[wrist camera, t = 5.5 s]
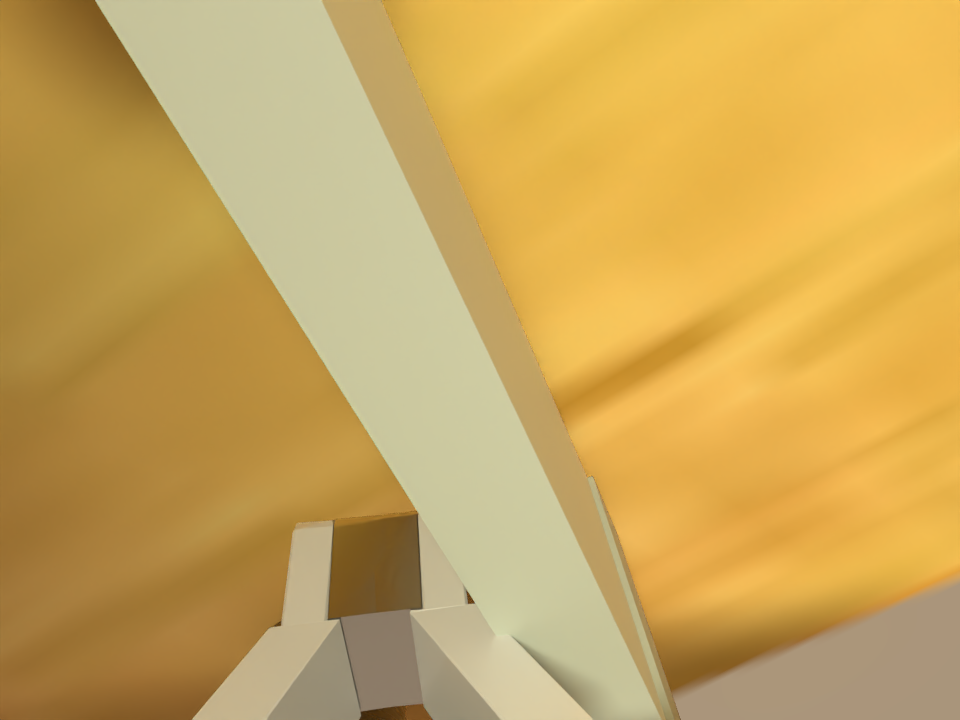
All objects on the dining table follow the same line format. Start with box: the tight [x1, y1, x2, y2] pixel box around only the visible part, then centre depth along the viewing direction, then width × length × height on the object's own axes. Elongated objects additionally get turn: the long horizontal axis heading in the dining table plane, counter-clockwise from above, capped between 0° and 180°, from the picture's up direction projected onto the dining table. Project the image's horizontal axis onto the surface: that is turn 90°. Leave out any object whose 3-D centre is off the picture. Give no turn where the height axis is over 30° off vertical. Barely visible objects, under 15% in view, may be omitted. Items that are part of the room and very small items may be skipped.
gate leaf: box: [95, 0, 681, 720], centre depth 9 cm, size 1×15×5 cm, turn 21°
